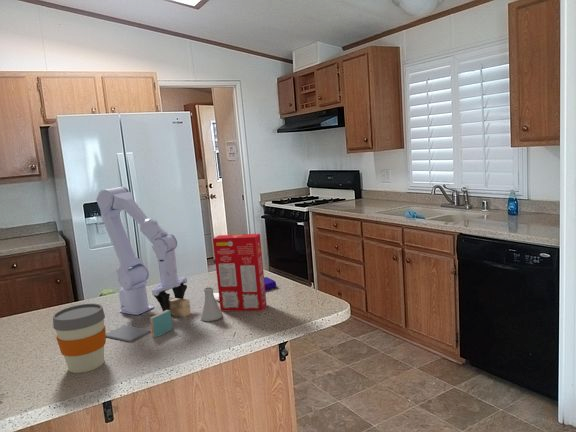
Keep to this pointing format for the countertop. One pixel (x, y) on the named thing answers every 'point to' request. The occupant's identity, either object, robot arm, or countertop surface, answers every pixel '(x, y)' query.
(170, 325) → the tile
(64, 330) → the reusable coffee cup
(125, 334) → the plate
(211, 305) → the flask
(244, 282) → the food packaging
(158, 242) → the robot arm
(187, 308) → the tall tan prism
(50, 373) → the countertop surface
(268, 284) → the spray bottle
